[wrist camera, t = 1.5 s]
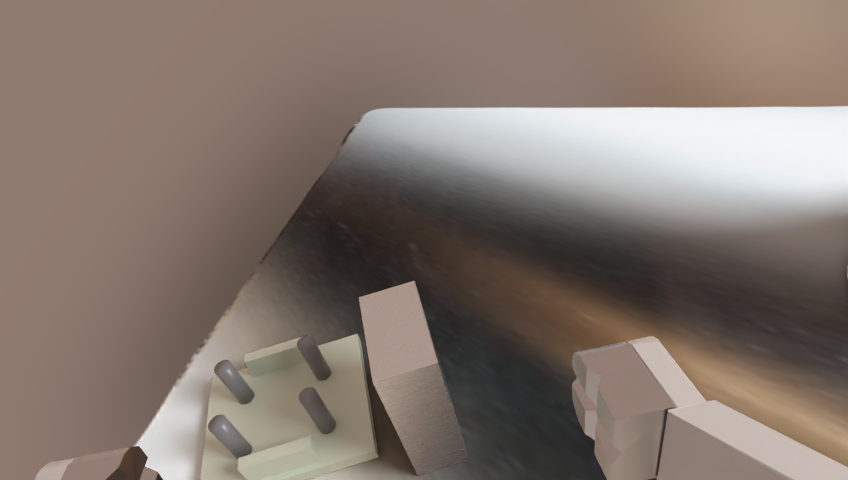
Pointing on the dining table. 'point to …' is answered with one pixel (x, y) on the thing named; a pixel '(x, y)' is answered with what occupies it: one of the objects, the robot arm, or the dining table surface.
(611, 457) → the robot arm
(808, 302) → the dining table surface
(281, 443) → the peg board
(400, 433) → the block
